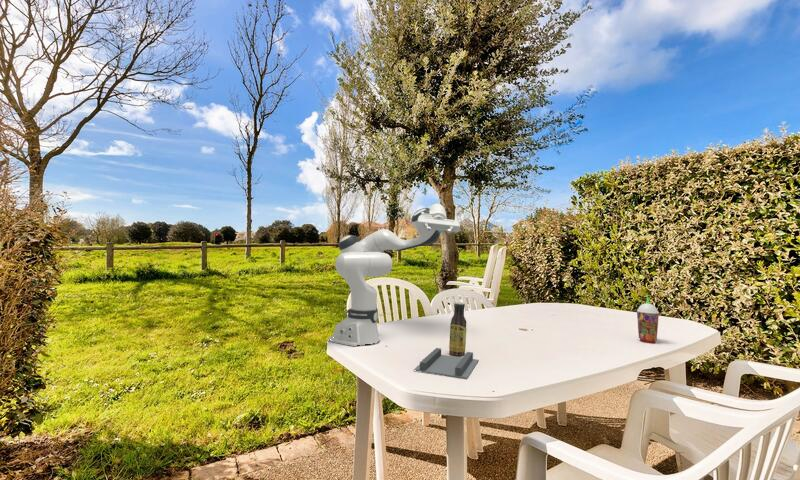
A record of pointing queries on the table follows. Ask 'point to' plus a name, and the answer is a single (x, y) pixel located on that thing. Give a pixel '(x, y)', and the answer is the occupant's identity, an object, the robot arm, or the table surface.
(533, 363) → the table surface
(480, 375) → the table surface
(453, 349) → the sauce bottle
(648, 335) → the smoothie
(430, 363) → the holder
